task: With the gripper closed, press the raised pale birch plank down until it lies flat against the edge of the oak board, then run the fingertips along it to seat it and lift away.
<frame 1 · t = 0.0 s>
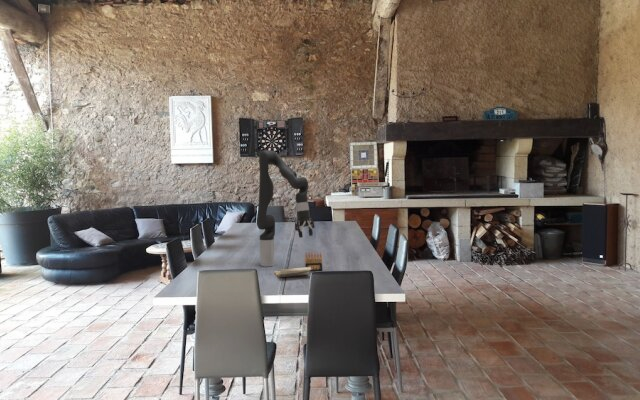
hand: (306, 236, 305), 22 cm above the table, tool pointing down, fingers open, 8 cm apart
oak board: (290, 274, 304), on the table
birch plank: (292, 273, 299), point 2 cm above the table, hinge at 30.0°
ammunition clip: (313, 271, 312), on the table
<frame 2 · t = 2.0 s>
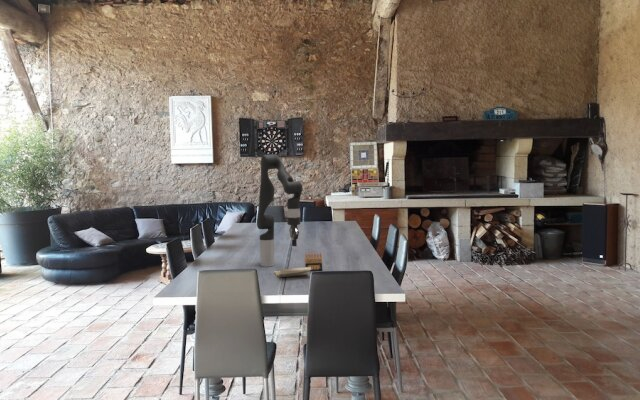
hand: (294, 246, 292), 19 cm above the table, tool pointing down, fingers closed
nothing on the table moved.
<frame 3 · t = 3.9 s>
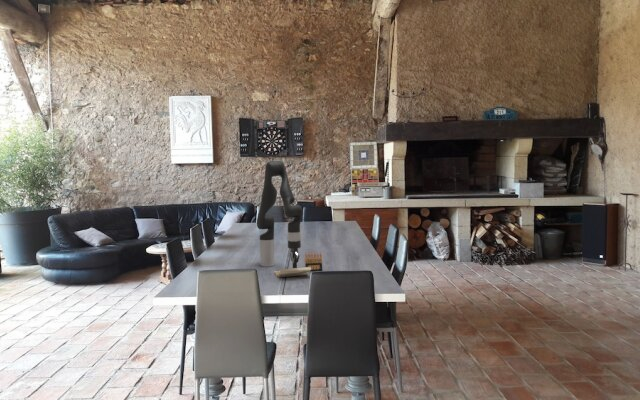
hand: (294, 269, 293), 5 cm above the table, tool pointing down, fingers closed
birch plank: (292, 273, 299), point 2 cm above the table, hinge at 29.9°, touching gripper
everything else where it was.
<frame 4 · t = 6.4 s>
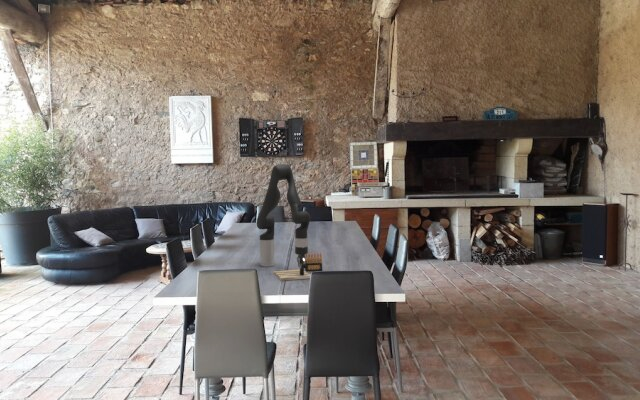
hand: (301, 274, 295), 2 cm above the table, tool pointing down, fingers closed
birch plank: (292, 273, 299), point 2 cm above the table, hinge at 0.8°
everything else where it was.
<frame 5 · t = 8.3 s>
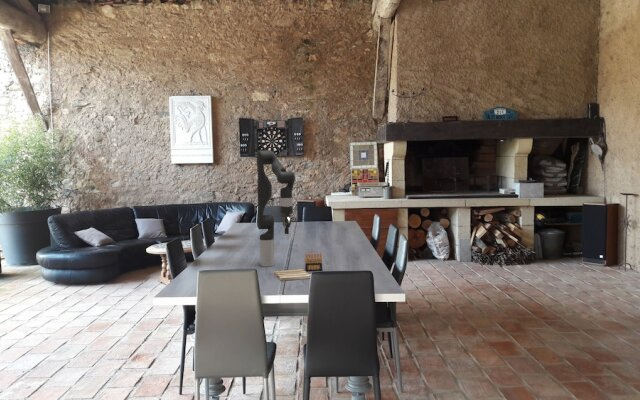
hand: (286, 233, 301), 25 cm above the table, tool pointing down, fingers closed
nothing on the table moved.
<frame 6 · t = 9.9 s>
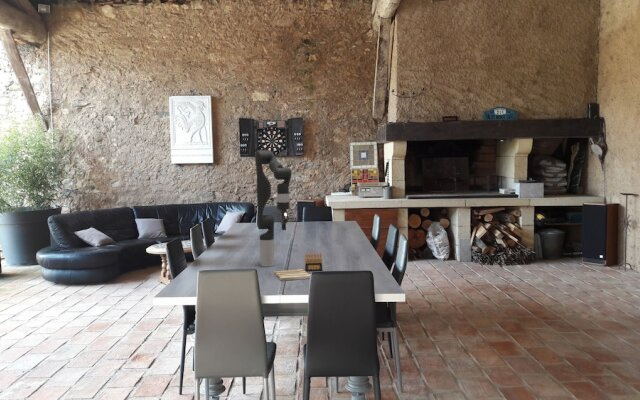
hand: (283, 230, 302), 27 cm above the table, tool pointing down, fingers closed
nothing on the table moved.
at the end: birch plank at +1° (first picture: +30°) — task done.
